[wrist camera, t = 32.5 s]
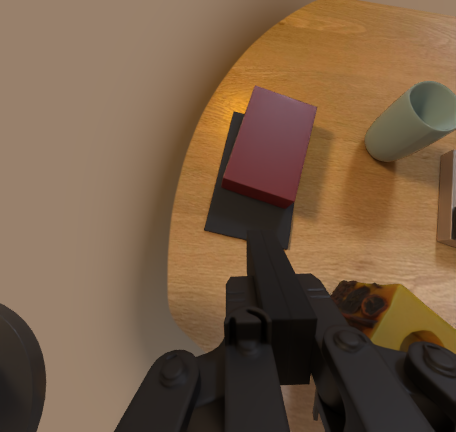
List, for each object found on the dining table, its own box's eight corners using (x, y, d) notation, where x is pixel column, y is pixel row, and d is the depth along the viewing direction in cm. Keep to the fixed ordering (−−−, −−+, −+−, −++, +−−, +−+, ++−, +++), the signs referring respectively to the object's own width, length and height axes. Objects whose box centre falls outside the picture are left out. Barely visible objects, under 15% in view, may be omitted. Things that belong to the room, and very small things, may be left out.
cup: (372, 175, 37) (432, 139, 27) (348, 135, 39) (397, 88, 29) (407, 159, 39) (476, 121, 29) (383, 122, 40) (441, 73, 31)
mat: (286, 249, 32) (287, 249, 32) (204, 230, 32) (204, 229, 31) (303, 131, 38) (304, 130, 37) (233, 112, 37) (233, 111, 37)
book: (285, 209, 34) (307, 121, 38) (294, 201, 30) (317, 106, 35) (220, 187, 33) (250, 102, 38) (222, 177, 30) (254, 85, 34)
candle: (299, 340, 30) (347, 371, 20) (339, 278, 32) (398, 279, 23) (363, 395, 29) (445, 456, 19) (398, 327, 31) (486, 350, 22)
